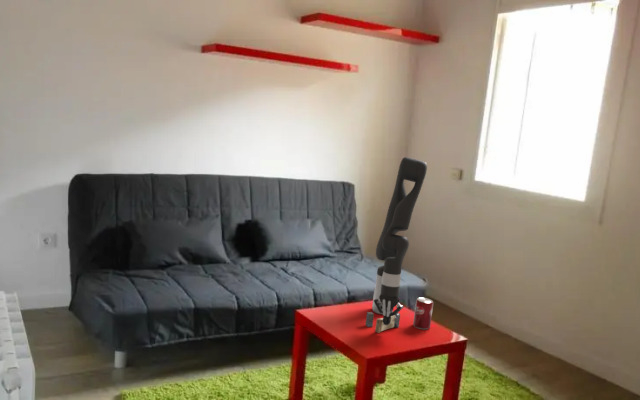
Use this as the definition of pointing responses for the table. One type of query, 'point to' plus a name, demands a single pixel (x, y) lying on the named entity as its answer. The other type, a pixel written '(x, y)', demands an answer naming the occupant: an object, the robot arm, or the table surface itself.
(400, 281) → the robot arm
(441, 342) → the table surface
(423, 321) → the soda can
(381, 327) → the gate
